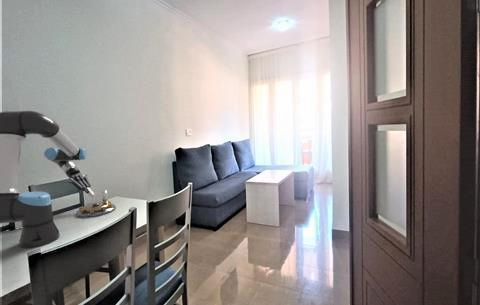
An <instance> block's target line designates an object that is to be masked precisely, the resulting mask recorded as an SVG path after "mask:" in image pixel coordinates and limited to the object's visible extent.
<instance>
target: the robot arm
mask: <svg viewBox="0 0 480 305" xmlns="http://www.w3.org/2000/svg"><path fill="white" fill-rule="evenodd" d="M60 128H61V127H60V125H59V124H58V123H57V121H55V120H53V118H51V117H49V116H47V115H45V114H43V113H42V112H41V113H40V112H37V111H34V110H20V111H19V110H15V111H14V110H13V111H12V110H11V111H8V110H6V111H5V110H4V111H0V224H8V223H18V222H21V226H22V227H21V228H22V229H21V232H20V237H19V240H18V242H19V243H18V244H19V247H20V248H23V249H31V248H36V247H40V246H44V245H48V244H50V243H52V242H54V241H56V240H58V239H59V238H60V230H59V228H58V227H57V225H56V223H55V222H54V215H53V213H54V212H53V206H52V204H53V202H52V199H51V195H50V193H48V192H45V191H40V190H39V191H26V192H20V191H19V189H18V185H19V182H18V181H19V172H20V160H21V150H22V149H21V147H22V142H24V141H26V139H27V135H39V136H41V137H42V138H45V139H48V140H49V142H51V143H52V144H54V146H56V147H48V148H46V149H45V150H44V152H43V155H44V157H45V158H46V159H47V161H51V162H52V163H55V164H56V165H58V167H59V168H60V169H61V170H62V172H63V173H64V174H65V175H66V176H67V177H68V178H69V179H68V180H67V181H68V183H70V184H71V185H73V186H74V187H76V188H77V189H78V190H79V191H82V192H85V194H87V195H88V196H89V197H90V198H93V197H94V196H95V193H94V191H93V189H92V188H91V186H92V183H91V182H90V180H89V178H88V175H87V174H83V173H82V172H81V171H80V169H79V168H78V167H77V166H76V164H75V163H74V162H73V161H81V160H82V161H84V160H86V159H87V156H88V151H87V149H86V148H84V147H78V146H77V145H76V144H75V143H74V142H73V141H72V140H71V139H70V138H69V137H68V136H67V135H66V134H65V133H64V132H63V131H62V130H61V129H60Z"/></svg>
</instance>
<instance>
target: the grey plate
mask: <svg viewBox="0 0 480 305" xmlns="http://www.w3.org/2000/svg"><path fill="white" fill-rule="evenodd" d="M111 204H112V208H108V209H107V210H105V211H99V212H95V213H91V214H90V213H83V214H82V213H80V211H79V209H78V210H77V211H76V212H75V215H76V217H77V218H82V219H83V218H84V219H86V218H87V219H88V218H96V217H101V216H104V215H107V214H110V213H112V212H114V211H116V208H117V206H116V204H114V203H111Z"/></svg>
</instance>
